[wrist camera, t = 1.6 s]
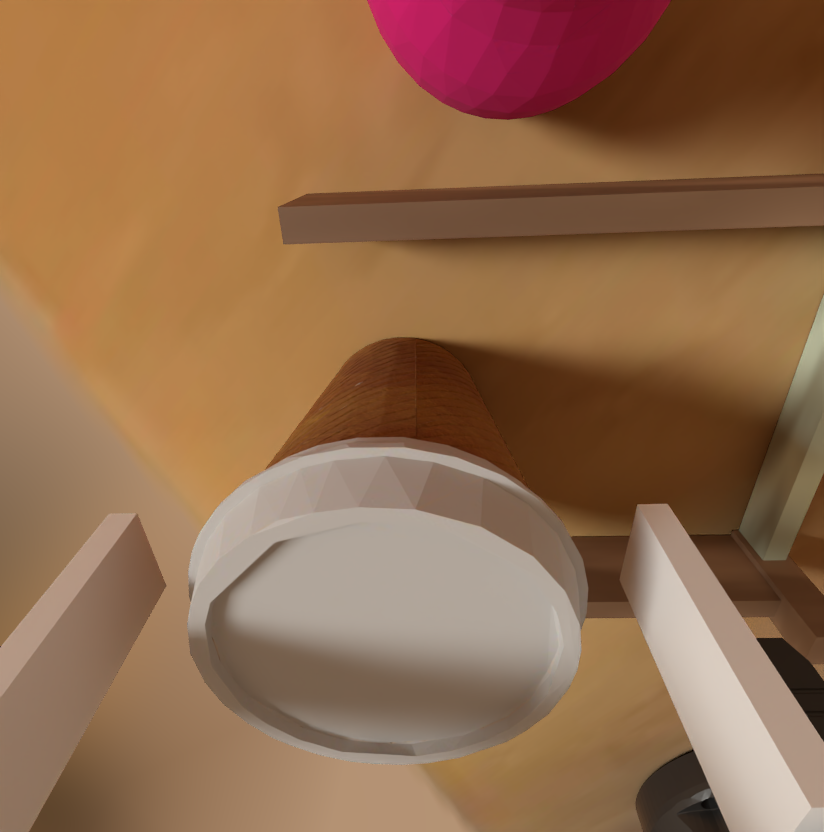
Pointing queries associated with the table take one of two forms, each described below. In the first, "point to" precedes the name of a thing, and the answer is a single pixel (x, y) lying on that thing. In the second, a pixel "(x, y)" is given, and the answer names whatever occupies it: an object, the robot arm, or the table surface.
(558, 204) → the bay
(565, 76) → the pepper mill
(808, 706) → the robot arm
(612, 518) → the table surface
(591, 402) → the table surface
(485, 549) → the disposable coffee cup
